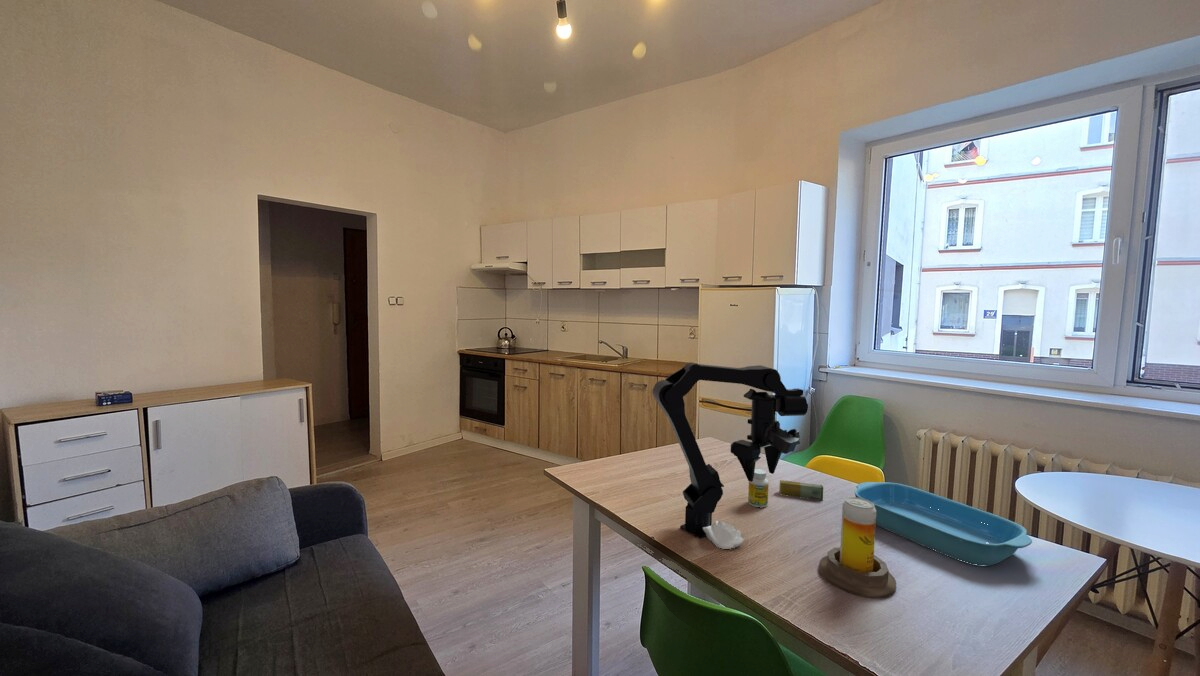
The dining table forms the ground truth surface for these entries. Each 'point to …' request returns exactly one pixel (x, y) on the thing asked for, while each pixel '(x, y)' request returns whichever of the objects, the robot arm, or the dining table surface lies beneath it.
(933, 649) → the dining table surface
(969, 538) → the casserole dish
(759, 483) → the supplement bottle
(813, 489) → the medication box
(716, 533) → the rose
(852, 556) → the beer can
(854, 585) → the can holder
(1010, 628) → the dining table surface
